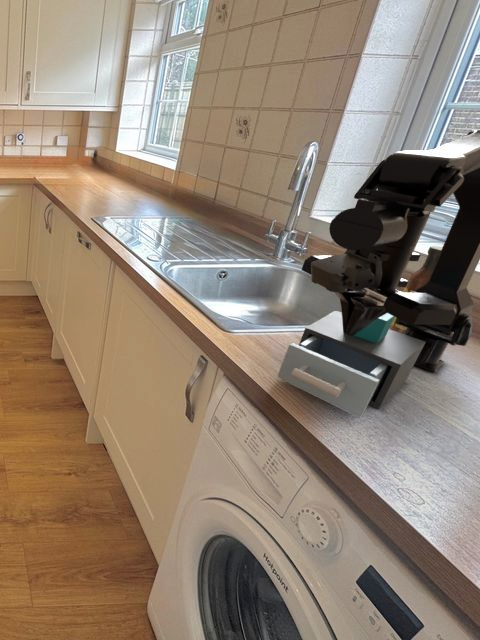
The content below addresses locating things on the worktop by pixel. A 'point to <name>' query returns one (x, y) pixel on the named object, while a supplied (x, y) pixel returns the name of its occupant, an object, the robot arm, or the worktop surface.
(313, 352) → the dispenser drawer
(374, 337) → the teal cube white top
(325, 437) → the worktop surface
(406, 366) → the grey drawer box
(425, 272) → the sauce bottle
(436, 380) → the worktop surface
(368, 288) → the robot arm
